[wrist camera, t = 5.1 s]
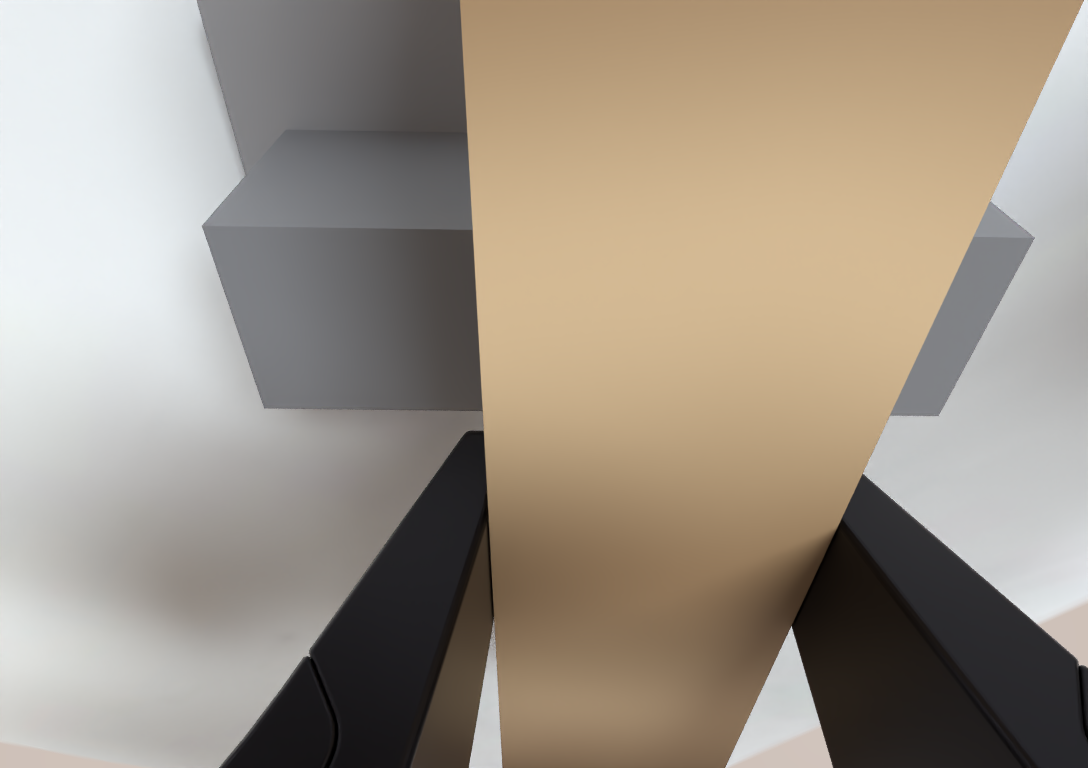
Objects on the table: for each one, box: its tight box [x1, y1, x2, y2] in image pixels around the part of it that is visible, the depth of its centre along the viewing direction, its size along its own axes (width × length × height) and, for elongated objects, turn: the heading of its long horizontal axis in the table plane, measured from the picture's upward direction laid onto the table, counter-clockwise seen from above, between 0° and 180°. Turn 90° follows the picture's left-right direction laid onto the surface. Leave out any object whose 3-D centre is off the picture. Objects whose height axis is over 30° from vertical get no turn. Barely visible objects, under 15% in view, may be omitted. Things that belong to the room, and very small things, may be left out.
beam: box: [460, 0, 1084, 768], centre depth 9 cm, size 20×4×4 cm, turn 179°
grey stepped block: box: [197, 0, 1034, 416], centre depth 13 cm, size 14×8×5 cm, turn 89°
